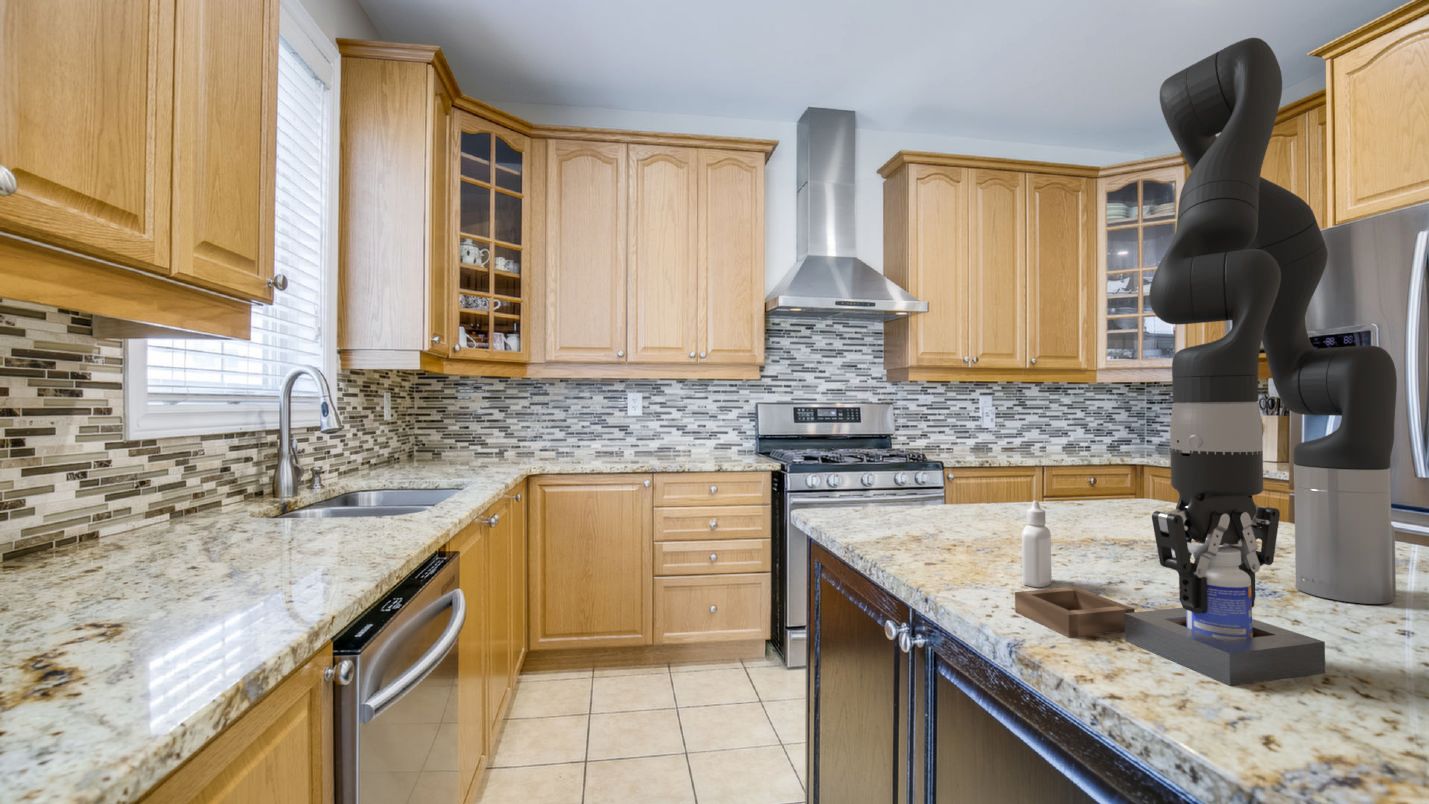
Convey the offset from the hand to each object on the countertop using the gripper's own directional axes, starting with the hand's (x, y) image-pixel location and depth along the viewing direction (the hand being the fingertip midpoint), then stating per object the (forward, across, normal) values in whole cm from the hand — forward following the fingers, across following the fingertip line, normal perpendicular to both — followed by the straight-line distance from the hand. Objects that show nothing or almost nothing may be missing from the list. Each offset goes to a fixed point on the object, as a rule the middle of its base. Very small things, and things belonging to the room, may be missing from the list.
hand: (1217, 607), depth 65 cm
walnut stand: (+5, +7, -12) cm, 15 cm away
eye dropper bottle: (+5, 0, -27) cm, 27 cm away
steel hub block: (+5, 0, 0) cm, 5 cm away
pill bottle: (+4, 0, 0) cm, 4 cm away
